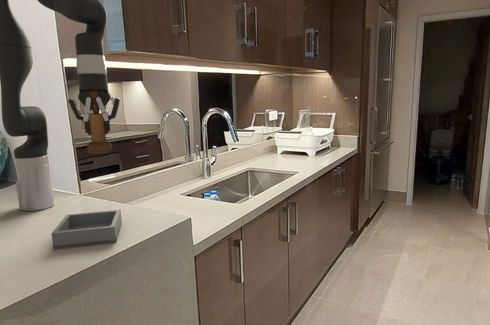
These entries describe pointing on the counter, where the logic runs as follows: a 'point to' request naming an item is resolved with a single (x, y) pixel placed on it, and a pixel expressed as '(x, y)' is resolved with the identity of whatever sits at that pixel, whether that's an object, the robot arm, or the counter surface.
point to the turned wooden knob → (97, 132)
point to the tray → (87, 229)
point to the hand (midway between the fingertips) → (98, 134)
